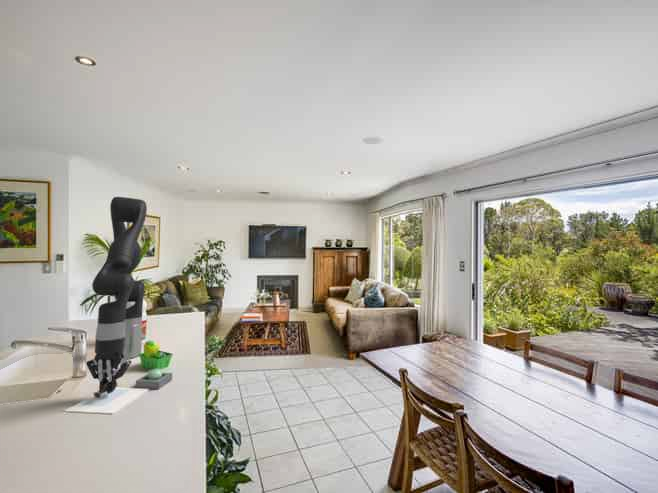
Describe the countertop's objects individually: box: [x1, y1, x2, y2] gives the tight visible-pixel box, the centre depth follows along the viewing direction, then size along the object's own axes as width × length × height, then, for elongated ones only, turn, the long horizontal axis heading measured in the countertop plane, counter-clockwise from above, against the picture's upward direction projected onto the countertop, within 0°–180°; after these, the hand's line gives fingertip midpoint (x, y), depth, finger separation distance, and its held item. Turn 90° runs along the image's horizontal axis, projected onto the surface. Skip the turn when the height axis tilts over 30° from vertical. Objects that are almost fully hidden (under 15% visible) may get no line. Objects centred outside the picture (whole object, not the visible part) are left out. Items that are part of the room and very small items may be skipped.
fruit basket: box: [138, 340, 174, 370], centre depth 120 cm, size 11×9×11 cm
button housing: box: [135, 372, 173, 390], centre depth 104 cm, size 8×8×2 cm
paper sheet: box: [64, 386, 150, 415], centre depth 92 cm, size 16×14×1 cm
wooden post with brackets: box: [93, 381, 119, 398], centre depth 93 cm, size 2×8×4 cm, turn 176°
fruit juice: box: [126, 297, 148, 344], centre depth 151 cm, size 9×9×28 cm
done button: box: [147, 369, 163, 380], centre depth 104 cm, size 4×4×3 cm
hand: (107, 392), depth 93 cm, fingers closed on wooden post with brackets, 1 cm apart
